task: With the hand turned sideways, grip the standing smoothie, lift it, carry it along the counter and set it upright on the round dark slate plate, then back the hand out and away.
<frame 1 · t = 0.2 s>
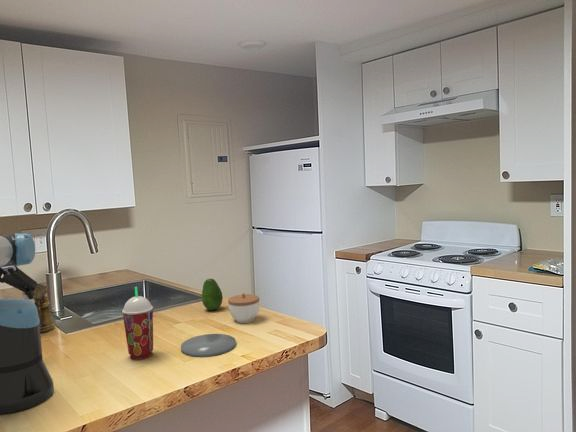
hand: (7, 307, 135), 15 cm above the worktop, tool tilted 35°, fingers open, 13 cm apart
slate plate: (208, 346, 138), on the worktop
lidded jar: (244, 320, 162), on the worktop
smoothie: (141, 356, 134), on the worktop
avocado: (213, 310, 176), on the worktop
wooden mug: (40, 332, 160), on the worktop
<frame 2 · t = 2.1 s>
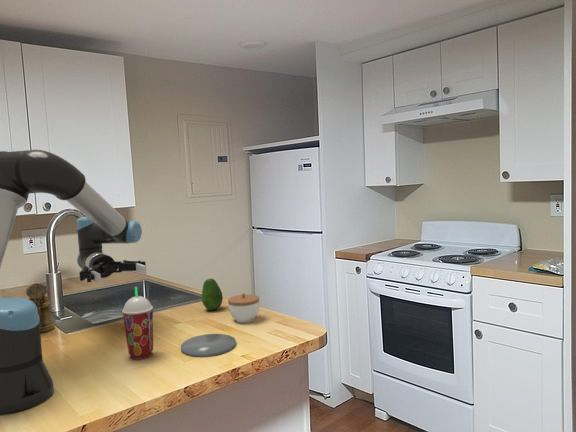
hand: (122, 274, 139), 22 cm above the worktop, tool horizontal, fingers open, 13 cm apart
nothing on the worktop moved.
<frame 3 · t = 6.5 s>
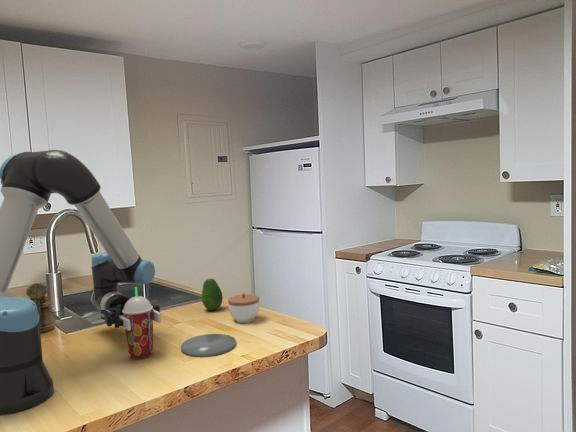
hand: (144, 321, 129), 11 cm above the worktop, tool horizontal, fingers closed on smoothie, 8 cm apart
smoothie: (141, 356, 134), on the worktop, touching gripper
everything else where it was.
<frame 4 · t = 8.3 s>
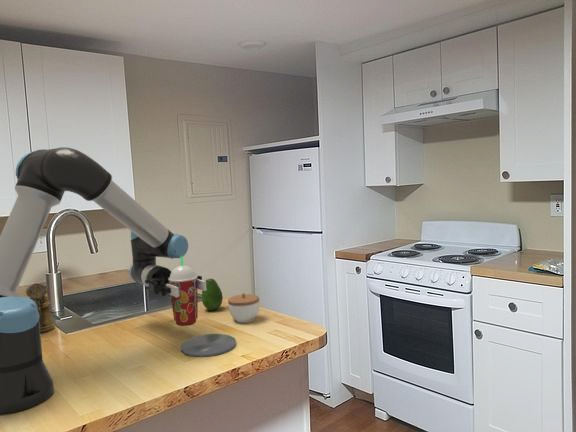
hand: (191, 289, 133), 18 cm above the worktop, tool horizontal, fingers closed on smoothie, 8 cm apart
smoothie: (186, 323, 138), point 7 cm above the worktop, touching gripper
everything else where it was.
when the fingers open (13 cm above the worktop, at t = 10.2 s): smoothie drops 1 cm, resting on slate plate.
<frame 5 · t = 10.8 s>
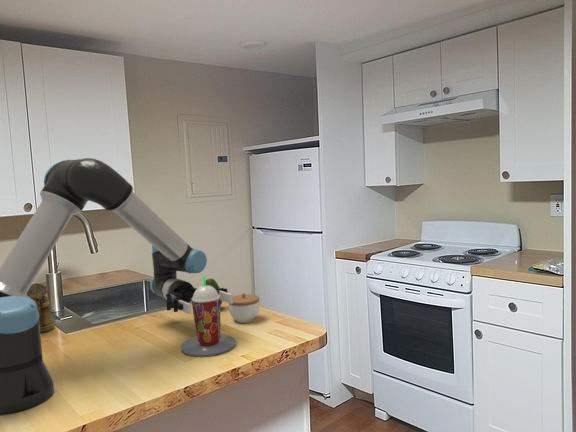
hand: (211, 303, 135), 13 cm above the worktop, tool horizontal, fingers open, 13 cm apart
smoothie: (209, 343, 139), point 1 cm above the worktop, touching slate plate
everything else where it was.
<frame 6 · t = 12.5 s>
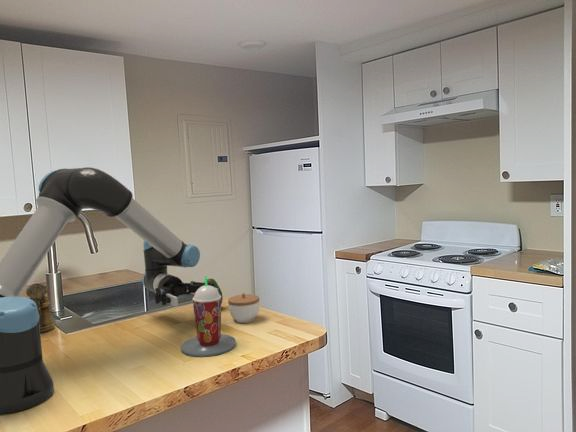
hand: (197, 297, 142), 14 cm above the worktop, tool horizontal, fingers open, 13 cm apart
nothing on the worktop moved.
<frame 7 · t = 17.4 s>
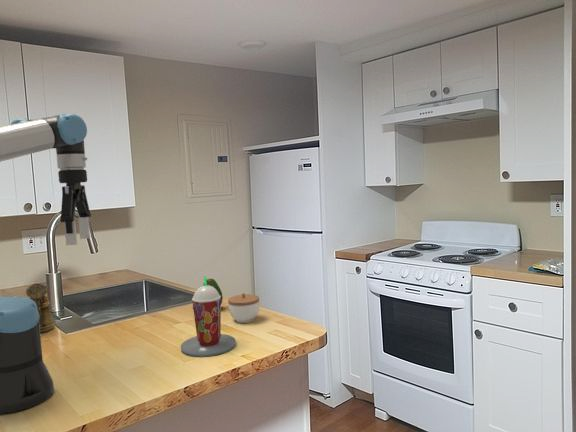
hand: (78, 241, 138), 33 cm above the worktop, tool pointing down, fingers open, 13 cm apart
nothing on the worktop moved.
at the end: smoothie inside the target area on the slate plate (0.4 cm from its centre), point 0.8 cm above the slate plate's base; smoothie tilted 0°; the gripper is holding nothing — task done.
